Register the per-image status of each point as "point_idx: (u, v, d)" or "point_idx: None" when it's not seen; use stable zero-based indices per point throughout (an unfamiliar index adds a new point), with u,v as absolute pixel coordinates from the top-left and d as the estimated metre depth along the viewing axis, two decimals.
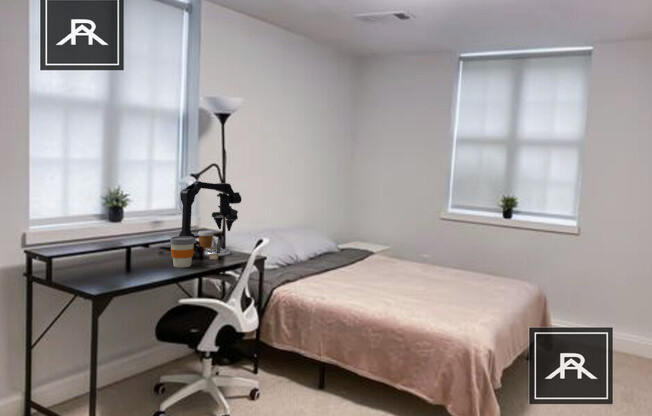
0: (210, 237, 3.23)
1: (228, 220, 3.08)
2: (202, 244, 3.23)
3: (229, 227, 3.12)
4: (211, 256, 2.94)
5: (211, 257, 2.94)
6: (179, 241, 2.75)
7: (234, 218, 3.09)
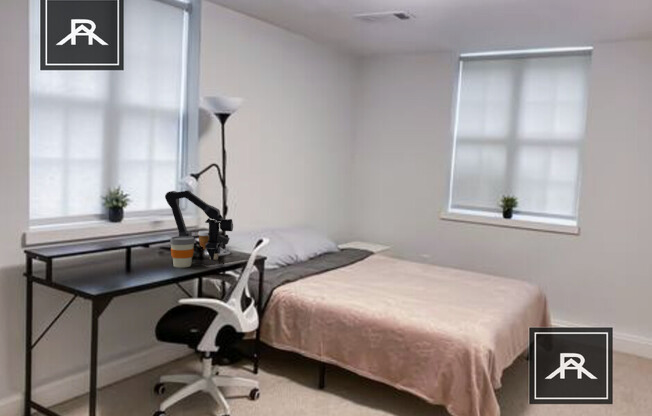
0: None
1: (206, 248, 2.88)
2: (202, 244, 3.23)
3: (211, 256, 2.91)
4: None
5: None
6: (179, 241, 2.75)
7: (211, 247, 2.86)
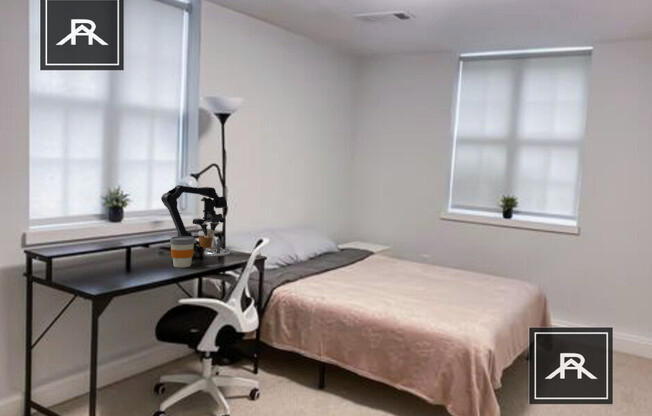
0: None
1: None
2: (202, 244, 3.23)
3: (204, 231, 3.05)
4: None
5: None
6: (179, 241, 2.75)
7: (195, 223, 2.99)
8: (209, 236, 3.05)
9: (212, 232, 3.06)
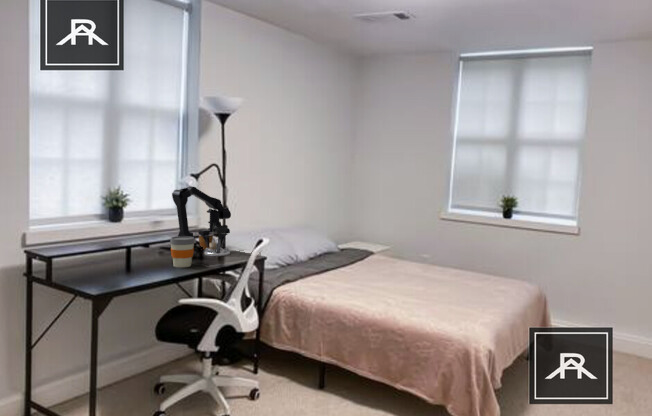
0: (210, 237, 3.23)
1: None
2: (202, 244, 3.23)
3: (206, 243, 3.10)
4: (210, 244, 3.13)
5: (210, 245, 3.13)
6: (179, 241, 2.75)
7: (201, 234, 3.06)
8: (214, 248, 3.12)
9: None
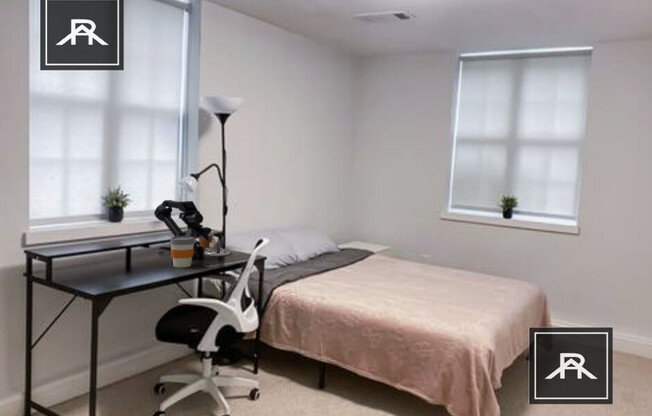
0: (210, 237, 3.23)
1: None
2: (202, 244, 3.23)
3: None
4: (210, 244, 3.13)
5: (210, 245, 3.13)
6: (179, 241, 2.75)
7: None
8: (214, 248, 3.12)
9: None
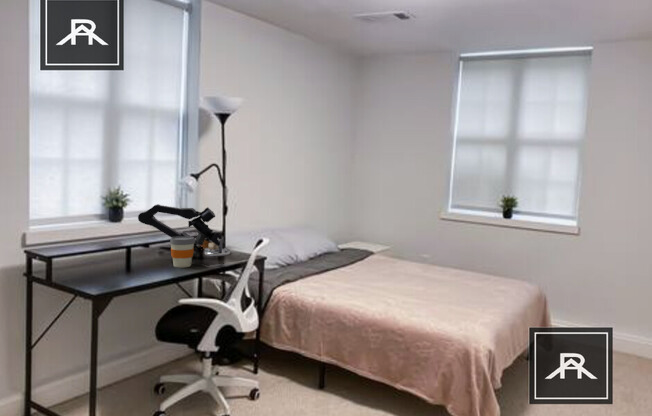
0: None
1: None
2: None
3: None
4: (209, 244, 3.12)
5: (209, 245, 3.12)
6: (179, 241, 2.75)
7: None
8: (214, 248, 3.12)
9: None
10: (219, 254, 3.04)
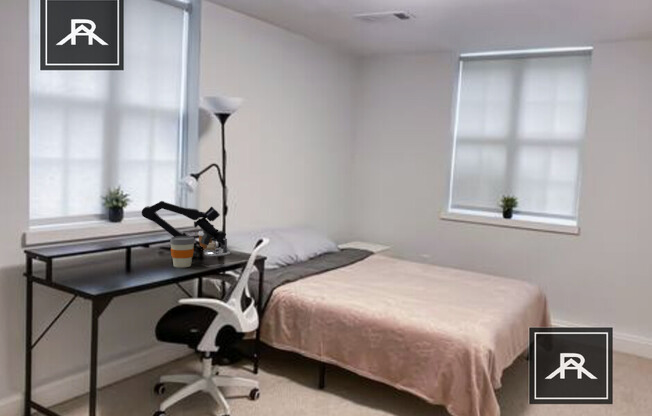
0: None
1: None
2: (202, 244, 3.23)
3: None
4: (208, 245, 3.09)
5: (208, 246, 3.09)
6: (179, 241, 2.75)
7: None
8: (214, 249, 3.11)
9: None
10: (225, 253, 3.07)
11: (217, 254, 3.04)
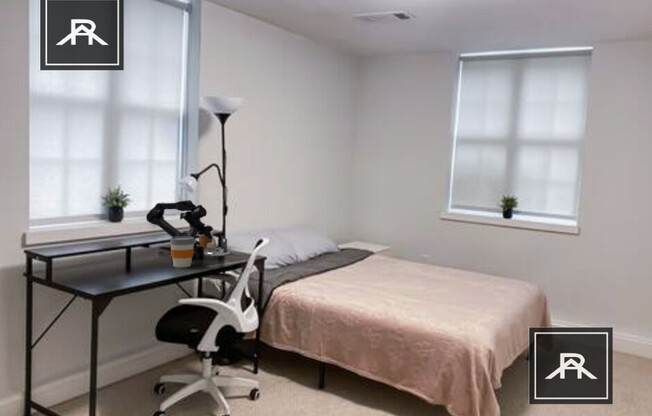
0: None
1: None
2: (202, 244, 3.23)
3: None
4: (208, 245, 3.09)
5: (208, 246, 3.09)
6: (179, 241, 2.75)
7: None
8: (214, 249, 3.10)
9: (214, 245, 3.12)
10: (226, 253, 3.07)
11: (217, 254, 3.04)
